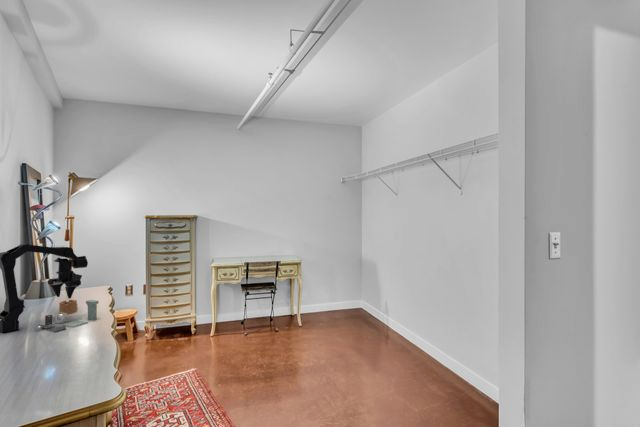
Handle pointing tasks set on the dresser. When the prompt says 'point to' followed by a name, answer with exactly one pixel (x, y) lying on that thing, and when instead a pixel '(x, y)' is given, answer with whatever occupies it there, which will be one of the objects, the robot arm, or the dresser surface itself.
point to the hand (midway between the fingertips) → (63, 297)
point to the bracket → (68, 307)
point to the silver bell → (61, 318)
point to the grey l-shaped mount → (91, 314)
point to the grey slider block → (47, 323)
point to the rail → (55, 328)
